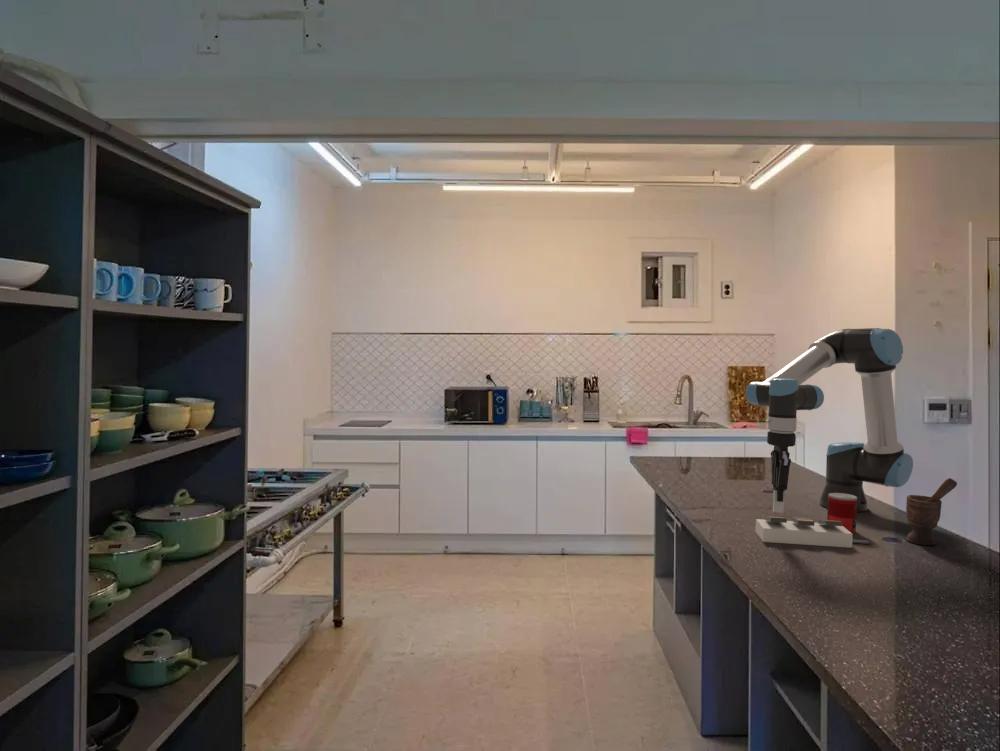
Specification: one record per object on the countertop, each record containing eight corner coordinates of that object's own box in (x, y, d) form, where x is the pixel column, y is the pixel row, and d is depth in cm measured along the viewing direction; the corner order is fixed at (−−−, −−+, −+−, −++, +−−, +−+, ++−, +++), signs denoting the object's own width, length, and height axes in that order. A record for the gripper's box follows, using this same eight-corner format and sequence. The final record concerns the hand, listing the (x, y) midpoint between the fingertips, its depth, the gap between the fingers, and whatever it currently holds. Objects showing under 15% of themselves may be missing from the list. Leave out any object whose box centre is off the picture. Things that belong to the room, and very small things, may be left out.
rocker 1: (780, 521, 192) (780, 516, 192) (786, 522, 185) (786, 518, 185) (765, 520, 193) (765, 515, 193) (770, 521, 186) (770, 517, 186)
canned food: (859, 535, 194) (861, 499, 193) (831, 533, 195) (832, 497, 195) (850, 527, 201) (852, 493, 200) (823, 526, 203) (825, 491, 202)
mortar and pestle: (945, 540, 189) (948, 474, 188) (956, 549, 181) (960, 480, 180) (900, 536, 192) (904, 471, 191) (909, 545, 184) (913, 477, 183)
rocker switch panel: (861, 538, 190) (862, 525, 189) (874, 549, 180) (875, 535, 180) (755, 531, 195) (755, 518, 195) (762, 541, 185) (763, 528, 185)
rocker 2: (834, 524, 189) (833, 520, 189) (842, 526, 182) (842, 521, 183) (818, 523, 190) (818, 519, 190) (825, 525, 183) (825, 520, 183)
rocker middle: (807, 521, 191) (807, 517, 191) (814, 525, 184) (814, 521, 184) (791, 520, 191) (791, 516, 192) (798, 524, 185) (798, 520, 185)
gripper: (762, 428, 192) (759, 505, 193) (773, 433, 179) (769, 516, 180) (789, 429, 191) (785, 507, 192) (801, 435, 178) (798, 518, 179)
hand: (778, 511), depth 186 cm, fingers closed
